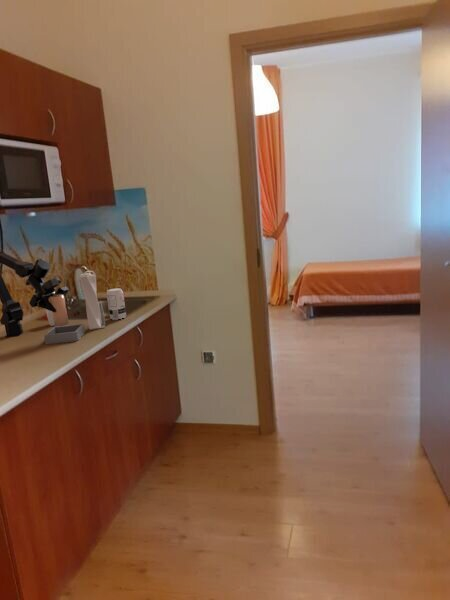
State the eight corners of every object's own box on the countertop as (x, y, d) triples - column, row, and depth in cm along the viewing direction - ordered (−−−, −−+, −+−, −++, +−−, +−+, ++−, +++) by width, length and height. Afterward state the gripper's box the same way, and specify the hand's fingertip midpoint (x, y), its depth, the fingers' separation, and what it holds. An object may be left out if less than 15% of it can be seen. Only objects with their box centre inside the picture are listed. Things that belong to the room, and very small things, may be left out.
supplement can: (109, 318, 245) (105, 289, 242) (125, 315, 248) (121, 287, 245) (111, 321, 238) (107, 292, 235) (127, 318, 241) (123, 289, 237)
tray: (45, 344, 208) (44, 335, 207) (55, 335, 221) (53, 326, 221) (78, 340, 208) (76, 332, 207) (85, 332, 222) (84, 323, 221)
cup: (56, 326, 208) (51, 297, 205) (52, 324, 213) (48, 295, 210) (70, 323, 211) (65, 295, 208) (66, 321, 216) (61, 293, 213)
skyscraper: (104, 328, 224) (95, 270, 218) (86, 331, 223) (77, 272, 217) (106, 324, 233) (97, 267, 227) (89, 326, 232) (80, 269, 226)
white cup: (61, 325, 240) (57, 306, 238) (45, 326, 240) (42, 307, 238) (66, 321, 247) (63, 302, 245) (51, 322, 248) (48, 303, 246)
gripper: (29, 276, 201) (51, 302, 198) (62, 268, 217) (84, 293, 214) (19, 294, 207) (41, 320, 204) (53, 285, 222) (74, 309, 220)
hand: (61, 309), depth 210 cm, fingers closed on cup, 6 cm apart
